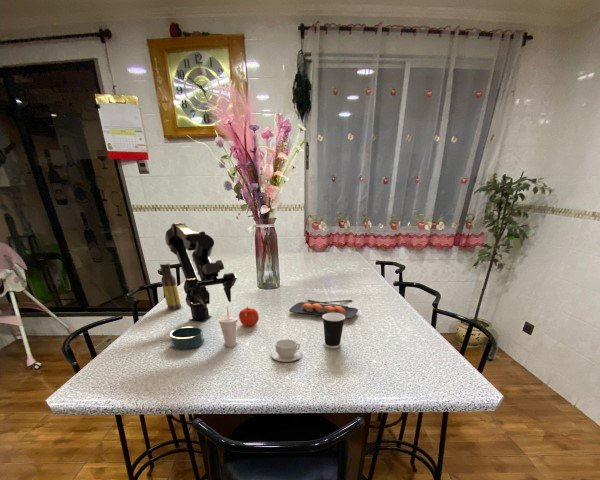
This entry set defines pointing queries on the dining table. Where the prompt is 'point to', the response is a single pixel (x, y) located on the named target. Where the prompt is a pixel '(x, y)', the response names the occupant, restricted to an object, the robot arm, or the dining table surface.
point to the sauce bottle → (170, 287)
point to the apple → (248, 317)
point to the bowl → (186, 338)
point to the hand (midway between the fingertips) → (218, 304)
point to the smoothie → (229, 329)
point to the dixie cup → (333, 329)
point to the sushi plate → (323, 309)
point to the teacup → (286, 350)
